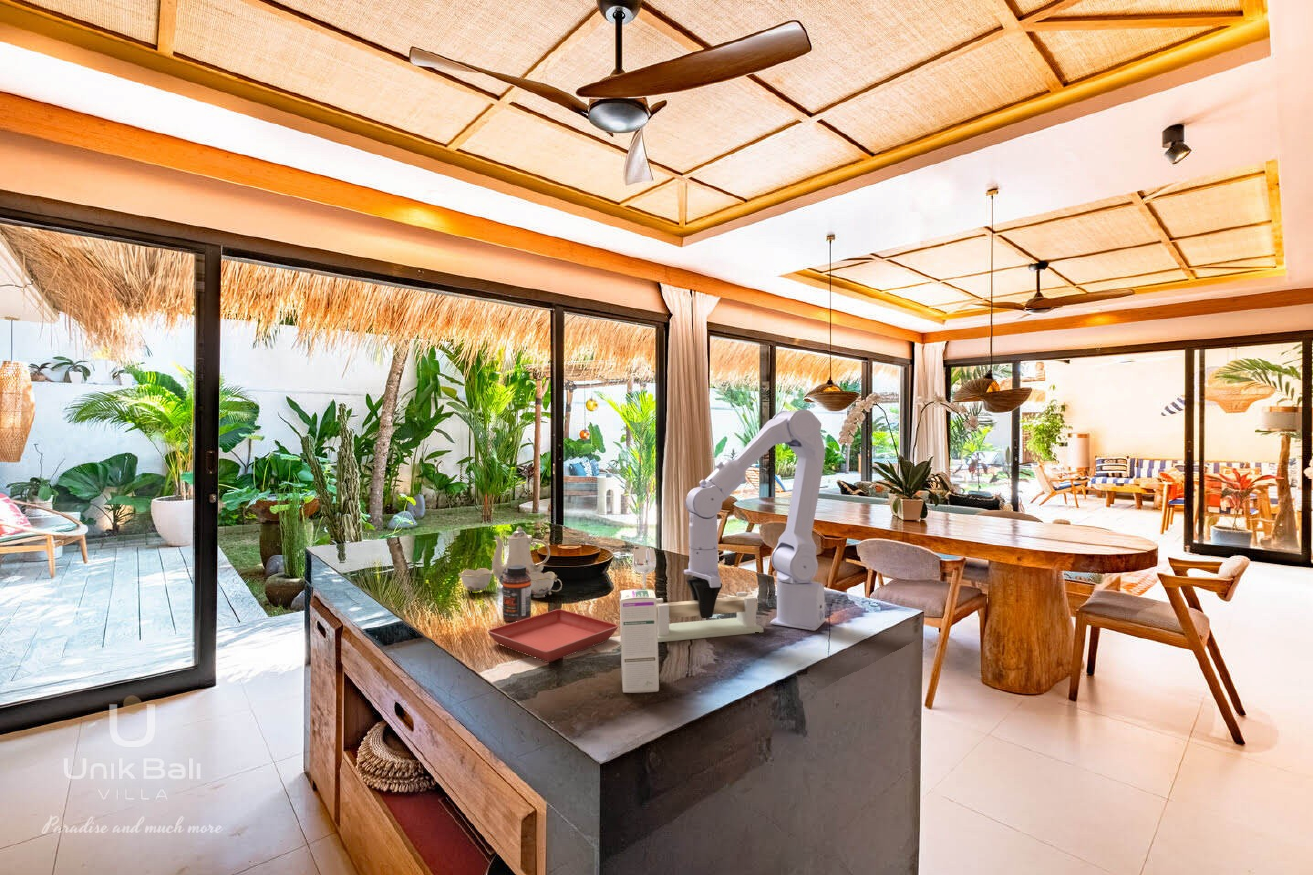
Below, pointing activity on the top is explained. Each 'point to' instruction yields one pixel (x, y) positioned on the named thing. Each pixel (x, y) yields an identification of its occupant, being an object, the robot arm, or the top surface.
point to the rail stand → (708, 623)
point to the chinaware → (517, 556)
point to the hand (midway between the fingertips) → (704, 615)
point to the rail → (720, 607)
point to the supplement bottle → (516, 594)
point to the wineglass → (644, 561)
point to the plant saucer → (553, 634)
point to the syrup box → (639, 641)
